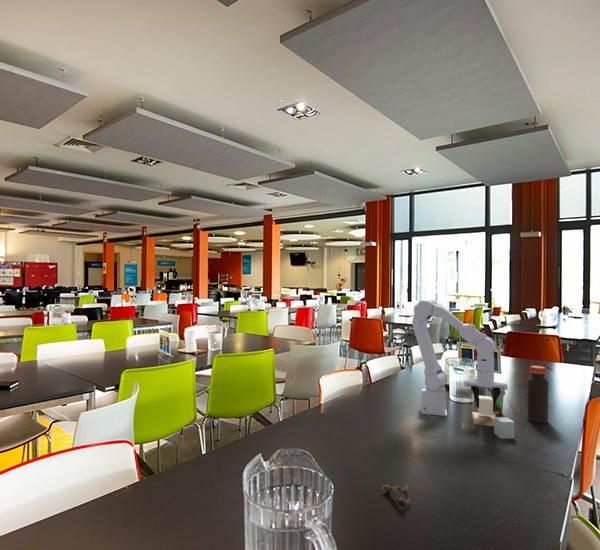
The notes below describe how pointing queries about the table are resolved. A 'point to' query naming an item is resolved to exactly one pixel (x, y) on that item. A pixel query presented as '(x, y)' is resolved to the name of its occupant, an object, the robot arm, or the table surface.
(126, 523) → the table surface
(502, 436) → the slate block
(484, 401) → the cream block
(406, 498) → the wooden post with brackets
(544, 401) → the bottle
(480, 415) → the oak slab
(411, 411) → the table surface
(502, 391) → the food container
